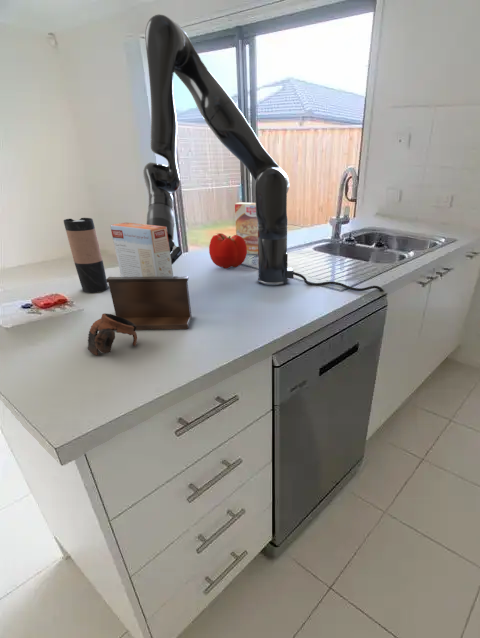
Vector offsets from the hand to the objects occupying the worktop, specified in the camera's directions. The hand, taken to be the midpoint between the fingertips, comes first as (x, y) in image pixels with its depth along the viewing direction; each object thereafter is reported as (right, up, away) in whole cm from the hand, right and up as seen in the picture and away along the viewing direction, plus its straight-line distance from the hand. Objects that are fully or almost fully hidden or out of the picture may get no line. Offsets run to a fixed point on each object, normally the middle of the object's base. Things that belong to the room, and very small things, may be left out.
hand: (158, 278), depth 103 cm
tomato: (+15, +14, +36) cm, 41 cm away
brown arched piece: (-2, -22, -24) cm, 32 cm away
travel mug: (-23, -1, +11) cm, 25 cm away
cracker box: (-1, -8, -1) cm, 8 cm away
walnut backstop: (+3, -14, -12) cm, 19 cm away
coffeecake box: (+23, +26, +56) cm, 66 cm away
